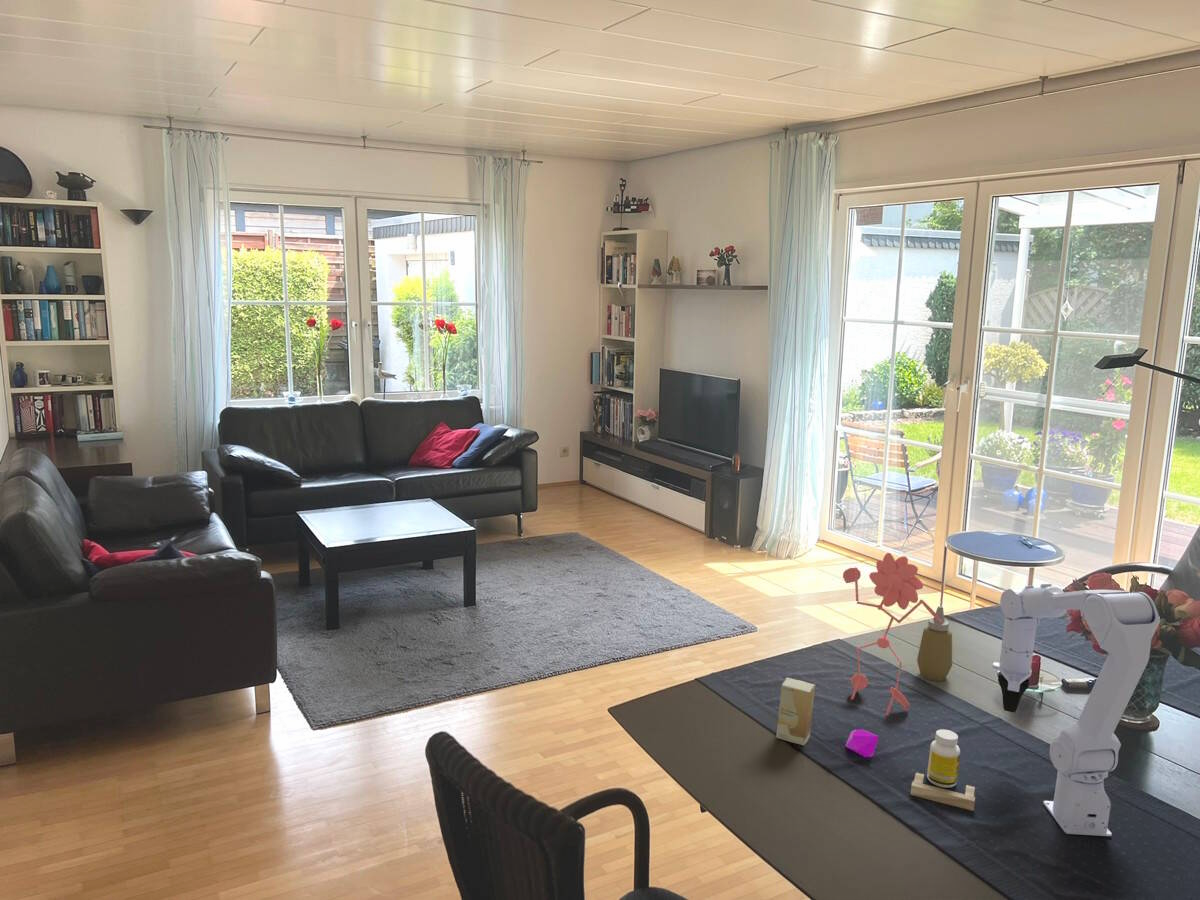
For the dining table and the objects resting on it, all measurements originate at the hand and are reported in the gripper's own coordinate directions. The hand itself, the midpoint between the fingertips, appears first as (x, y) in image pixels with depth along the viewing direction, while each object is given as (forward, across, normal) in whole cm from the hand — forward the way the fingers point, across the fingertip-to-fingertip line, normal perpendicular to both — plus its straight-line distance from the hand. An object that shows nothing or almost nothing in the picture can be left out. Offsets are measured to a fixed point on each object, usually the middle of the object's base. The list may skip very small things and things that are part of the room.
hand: (1009, 710), depth 177 cm
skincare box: (+11, +13, -40) cm, 43 cm away
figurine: (+11, -15, -25) cm, 31 cm away
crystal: (+11, +12, -26) cm, 31 cm away
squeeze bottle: (+11, -33, -17) cm, 39 cm away
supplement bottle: (+11, +15, -11) cm, 21 cm away
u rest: (+10, +21, -10) cm, 25 cm away
